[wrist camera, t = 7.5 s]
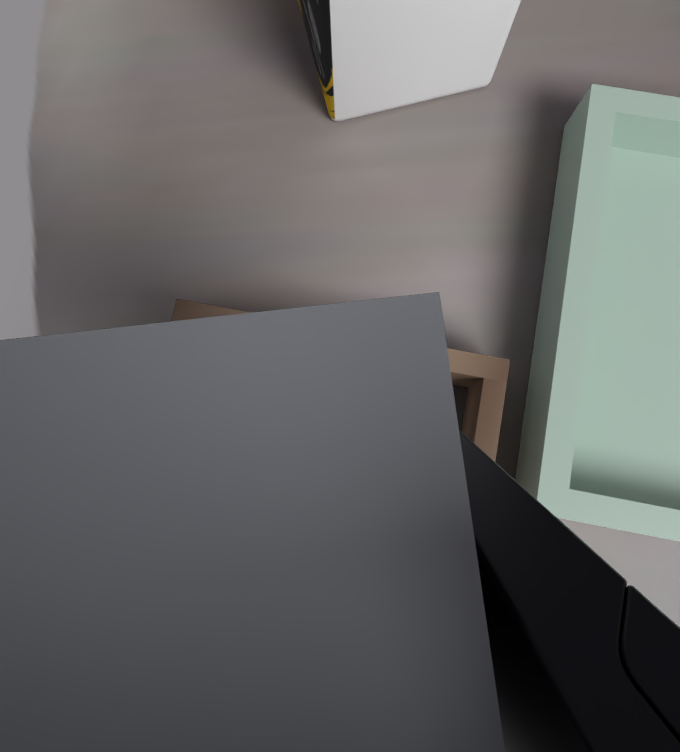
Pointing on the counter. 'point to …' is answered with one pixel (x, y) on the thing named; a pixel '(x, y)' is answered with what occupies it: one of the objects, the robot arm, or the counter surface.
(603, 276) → the mint green tray
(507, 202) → the counter surface
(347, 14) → the medicine bottle
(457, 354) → the walnut collar
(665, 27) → the counter surface
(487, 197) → the counter surface
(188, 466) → the grey peg
